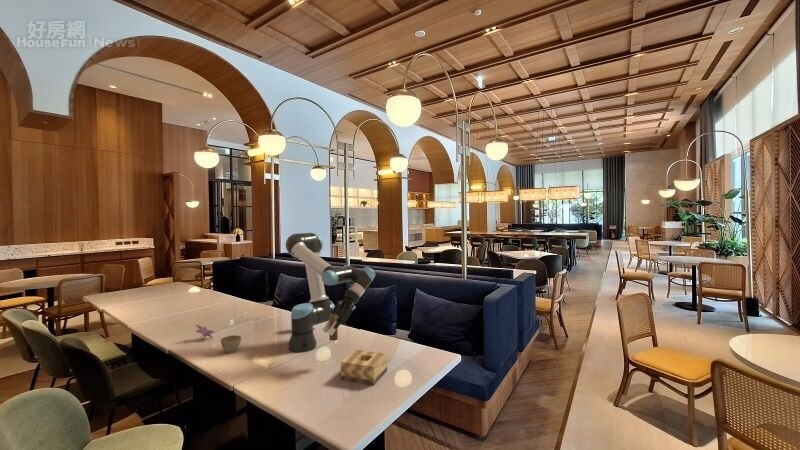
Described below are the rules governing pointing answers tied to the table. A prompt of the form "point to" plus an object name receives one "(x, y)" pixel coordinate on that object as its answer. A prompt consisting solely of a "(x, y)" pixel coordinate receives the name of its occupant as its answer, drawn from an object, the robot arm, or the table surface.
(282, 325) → the table surface
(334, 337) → the pin
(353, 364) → the socket block
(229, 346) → the flower pot
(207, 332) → the lily
